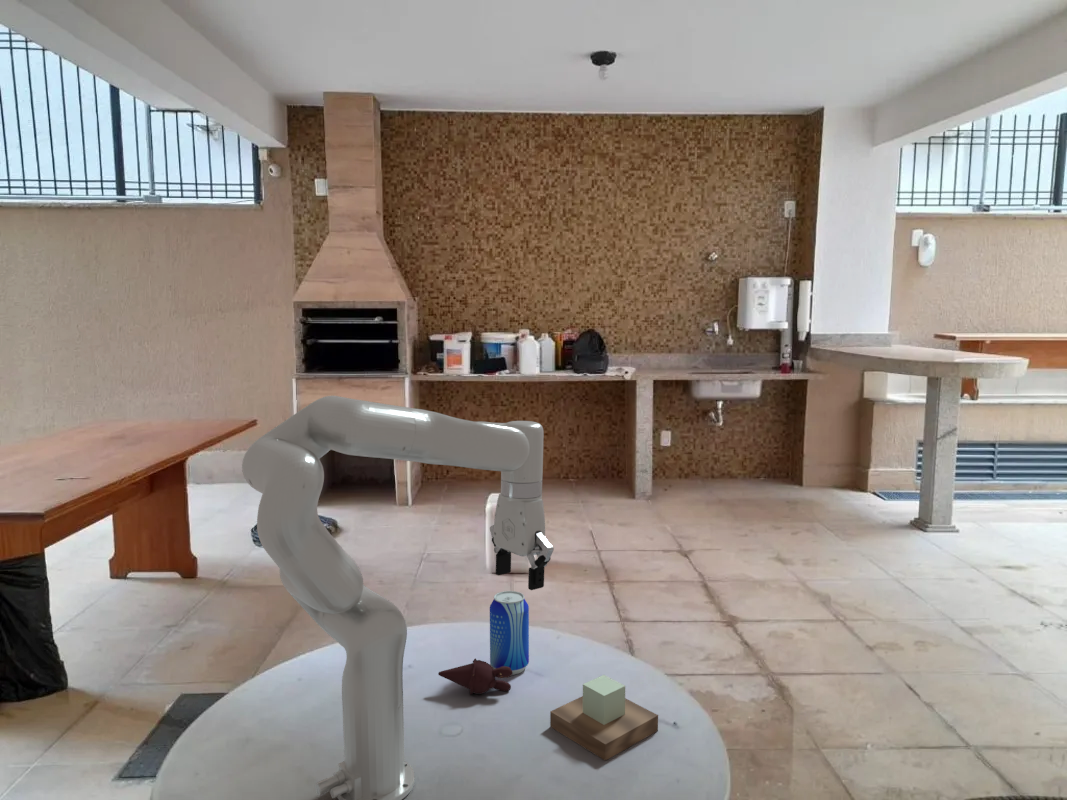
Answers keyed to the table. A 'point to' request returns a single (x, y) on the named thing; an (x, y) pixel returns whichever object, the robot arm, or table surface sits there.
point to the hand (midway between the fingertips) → (519, 580)
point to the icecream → (479, 677)
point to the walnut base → (604, 727)
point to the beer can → (509, 631)
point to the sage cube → (604, 699)
